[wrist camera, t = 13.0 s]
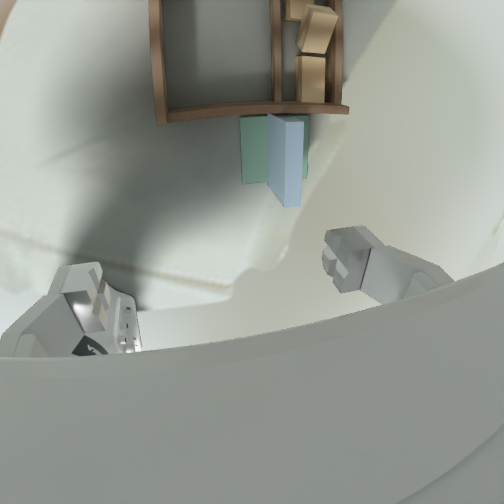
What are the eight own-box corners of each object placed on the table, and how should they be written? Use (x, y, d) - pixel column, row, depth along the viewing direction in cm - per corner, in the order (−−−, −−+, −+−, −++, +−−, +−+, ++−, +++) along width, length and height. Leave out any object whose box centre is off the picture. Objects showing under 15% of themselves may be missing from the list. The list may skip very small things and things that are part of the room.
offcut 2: (316, 100, 34) (324, 103, 32) (294, 100, 33) (301, 102, 31) (316, 58, 30) (325, 58, 28) (294, 56, 30) (302, 55, 28)
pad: (305, 177, 40) (306, 178, 40) (242, 183, 38) (242, 184, 38) (308, 115, 35) (309, 115, 34) (239, 117, 33) (240, 117, 33)
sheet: (282, 183, 39) (300, 206, 34) (268, 185, 39) (284, 207, 33) (283, 112, 33) (304, 121, 28) (267, 112, 33) (285, 121, 28)
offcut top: (317, 43, 29) (324, 54, 28) (295, 41, 28) (301, 51, 28) (330, 7, 23) (338, 16, 23) (306, 3, 23) (313, 12, 22)
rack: (332, 108, 35) (352, 115, 30) (161, 118, 31) (157, 125, 27) (331, -18, 24) (352, -27, 19) (153, -22, 20) (149, -37, 16)
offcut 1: (306, 23, 27) (314, 20, 25) (283, 20, 27) (290, 17, 25) (305, -16, 24) (312, -20, 22) (282, -19, 23) (288, -24, 21)
